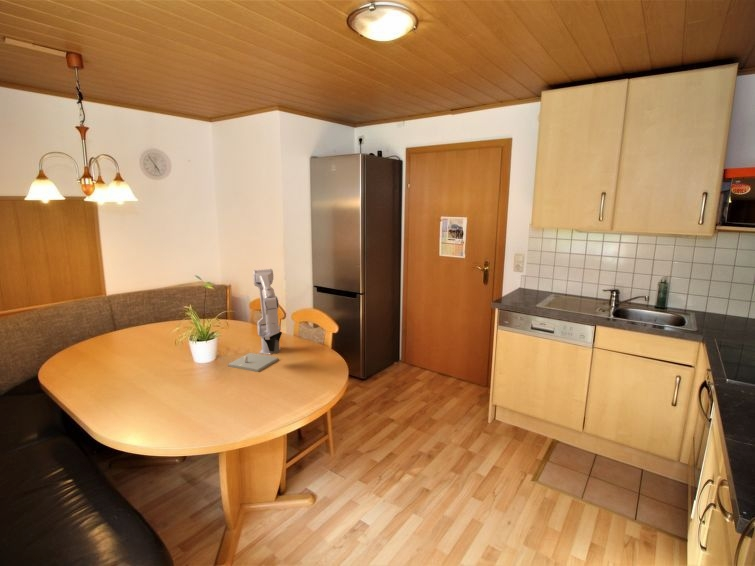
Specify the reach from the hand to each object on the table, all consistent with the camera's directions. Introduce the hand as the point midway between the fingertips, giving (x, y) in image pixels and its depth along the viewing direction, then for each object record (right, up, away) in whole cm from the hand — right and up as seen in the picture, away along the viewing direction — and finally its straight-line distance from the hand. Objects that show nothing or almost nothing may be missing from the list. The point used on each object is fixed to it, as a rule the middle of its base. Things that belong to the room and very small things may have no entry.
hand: (273, 349), depth 203 cm
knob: (0, -2, 0) cm, 2 cm away
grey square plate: (-11, -8, +5) cm, 14 cm away
